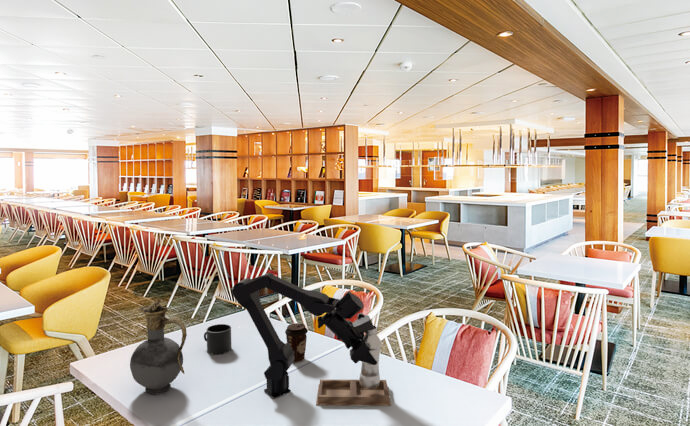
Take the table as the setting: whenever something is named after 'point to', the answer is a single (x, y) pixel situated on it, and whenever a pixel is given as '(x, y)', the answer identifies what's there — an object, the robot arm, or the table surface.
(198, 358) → the table surface
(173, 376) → the pitcher
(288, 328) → the coffee cup
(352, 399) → the wooden divided tray
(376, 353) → the silver metal bottle
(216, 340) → the mug
